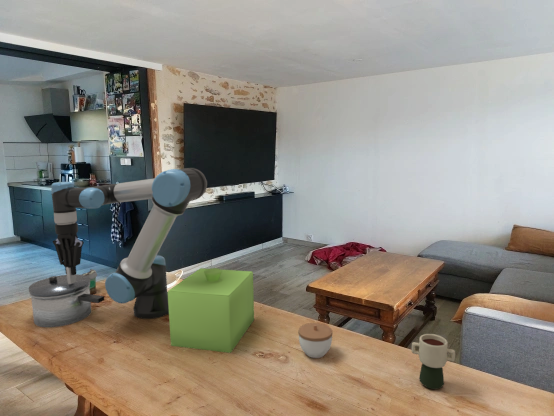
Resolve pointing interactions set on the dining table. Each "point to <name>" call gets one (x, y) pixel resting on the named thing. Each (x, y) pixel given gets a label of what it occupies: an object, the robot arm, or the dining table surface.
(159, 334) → the dining table surface
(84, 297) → the cooker pot
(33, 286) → the cooker lid
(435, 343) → the character mug
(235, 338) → the canister
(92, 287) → the food container
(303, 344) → the lidded jar
